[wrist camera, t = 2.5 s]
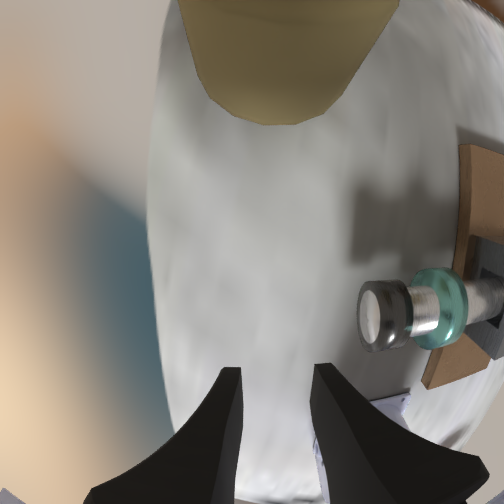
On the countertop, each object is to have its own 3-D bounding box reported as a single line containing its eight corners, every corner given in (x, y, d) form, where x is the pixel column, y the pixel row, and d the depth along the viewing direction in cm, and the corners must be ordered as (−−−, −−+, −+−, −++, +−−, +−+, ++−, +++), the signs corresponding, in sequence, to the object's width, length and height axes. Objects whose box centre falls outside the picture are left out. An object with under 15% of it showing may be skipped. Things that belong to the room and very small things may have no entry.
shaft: (350, 332, 17) (376, 378, 12) (358, 261, 16) (396, 292, 11) (491, 307, 17) (524, 331, 12) (503, 254, 15) (541, 271, 11)
